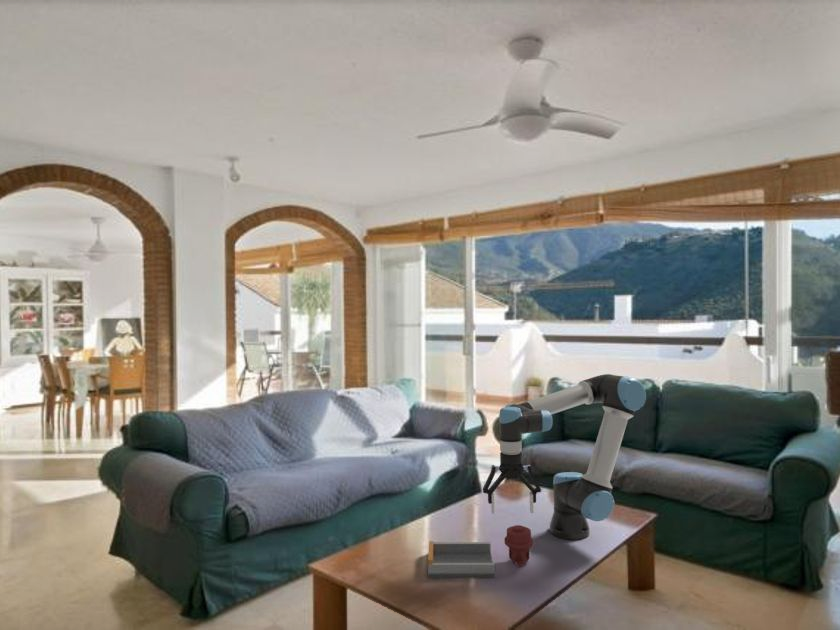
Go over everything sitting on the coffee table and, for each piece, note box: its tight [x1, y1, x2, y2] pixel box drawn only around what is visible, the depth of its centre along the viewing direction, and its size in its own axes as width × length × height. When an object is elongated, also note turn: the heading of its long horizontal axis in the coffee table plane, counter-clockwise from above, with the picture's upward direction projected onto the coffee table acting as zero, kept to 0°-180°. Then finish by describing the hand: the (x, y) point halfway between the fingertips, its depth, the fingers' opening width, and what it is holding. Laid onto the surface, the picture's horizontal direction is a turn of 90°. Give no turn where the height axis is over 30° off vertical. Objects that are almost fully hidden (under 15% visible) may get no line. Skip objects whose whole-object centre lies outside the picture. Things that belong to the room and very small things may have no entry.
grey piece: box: [427, 540, 496, 579], centre depth 197 cm, size 22×19×5 cm
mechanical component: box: [504, 524, 534, 567], centre depth 199 cm, size 12×10×10 cm
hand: (512, 512), depth 200 cm, fingers open, 13 cm apart
